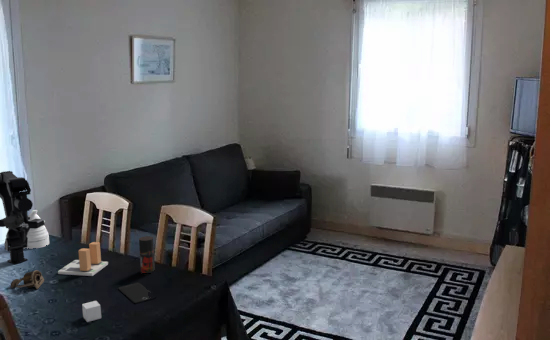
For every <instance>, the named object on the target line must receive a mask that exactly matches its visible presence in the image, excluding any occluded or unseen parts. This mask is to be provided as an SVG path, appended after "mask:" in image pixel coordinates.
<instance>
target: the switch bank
mask: <svg viewBox="0 0 550 340" xmlns="http://www.w3.org/2000/svg"><path fill="white" fill-rule="evenodd" d="M108 265H109V261H103V260H101V262H100V263H98V264H91V269H90V270H88V271H80V264H79V259H74V260H73V261H71V262H70V263H68V264H67V265H64V267H62V268H61V269H59V270H58V271H57V274H58V275H67V276H68V275H69V276H71V275H72V276H84V277H85V276H88V277H93V276H94V275H96V274H98V273H99V272H100V271H101V270H102V269H104V268H106V266H108Z"/></svg>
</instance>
